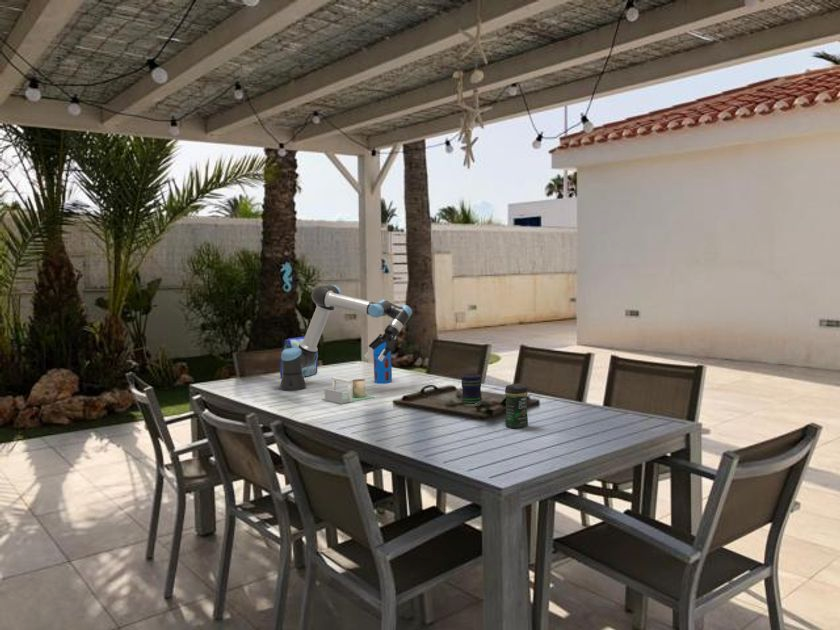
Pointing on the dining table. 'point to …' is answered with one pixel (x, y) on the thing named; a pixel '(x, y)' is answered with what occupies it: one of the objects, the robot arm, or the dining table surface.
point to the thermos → (382, 366)
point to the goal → (338, 392)
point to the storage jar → (471, 388)
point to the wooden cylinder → (359, 388)
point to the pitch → (352, 398)
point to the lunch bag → (294, 344)
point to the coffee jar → (516, 405)
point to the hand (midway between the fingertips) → (372, 359)
